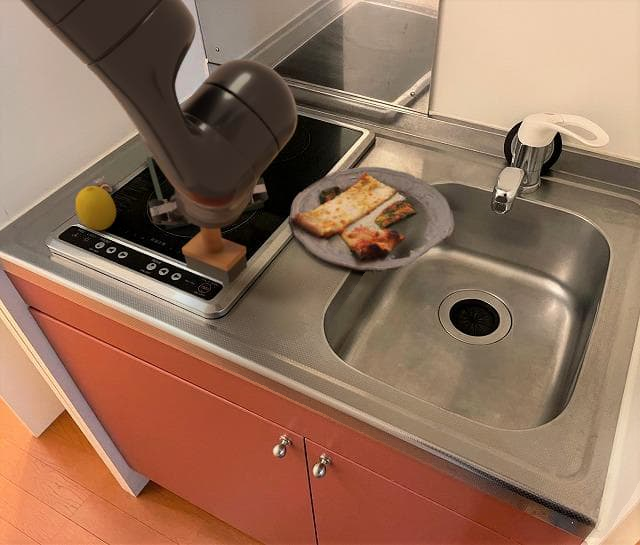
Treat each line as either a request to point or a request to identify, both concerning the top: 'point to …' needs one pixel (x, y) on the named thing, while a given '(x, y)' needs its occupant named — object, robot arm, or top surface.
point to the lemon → (95, 208)
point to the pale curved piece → (103, 185)
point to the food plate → (354, 203)
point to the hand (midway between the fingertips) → (205, 214)
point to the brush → (215, 256)
